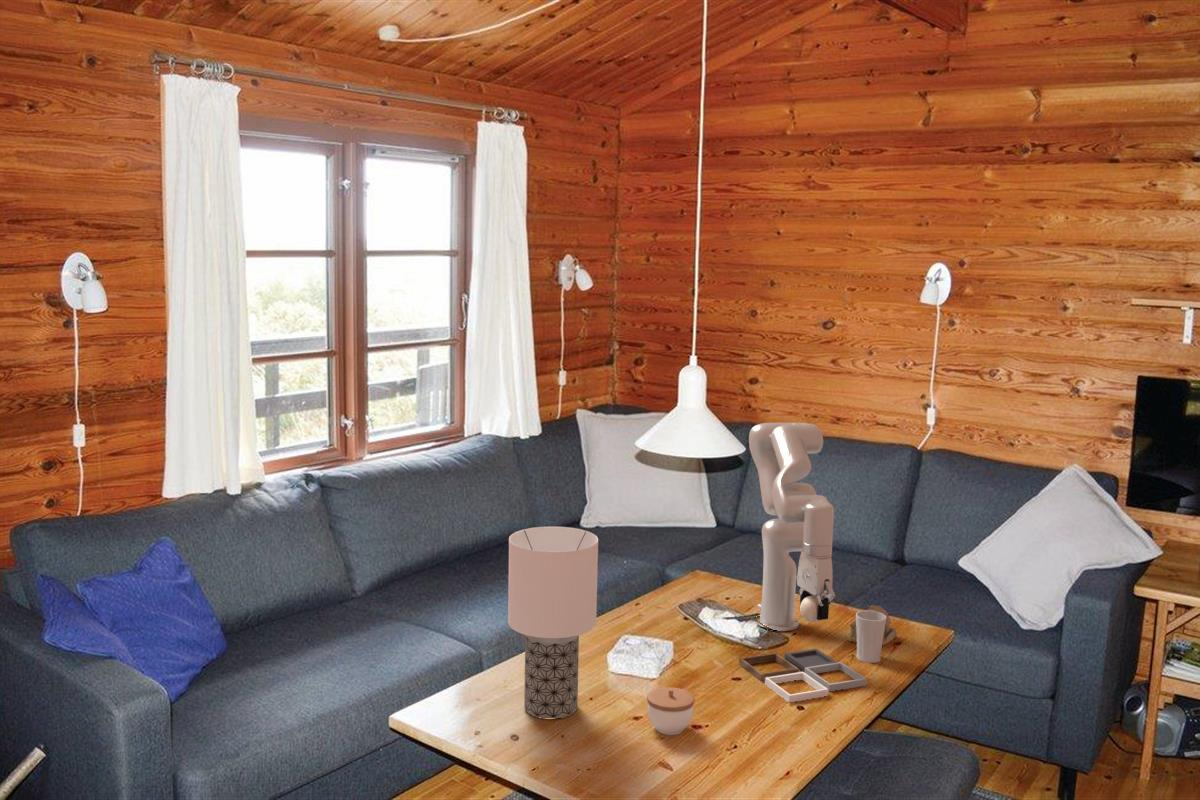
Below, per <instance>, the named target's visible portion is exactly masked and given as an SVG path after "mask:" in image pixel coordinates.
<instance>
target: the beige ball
mask: <svg viewBox="0 0 1200 800" xmlns="http://www.w3.org/2000/svg"><path fill="white" fill-rule="evenodd" d="M817 605H819V601H818V597H817V596H815V595H812V596H808V597H806V598H804V599H803V601H802V602H801V605H800V604H799V613H800V614H801V616H802V618H803V619H804V620H806V621H808V622H811V623H816V622H817V623H818V622H820V621H821V620H817Z"/></svg>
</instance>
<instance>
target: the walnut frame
mask: <svg viewBox="0 0 1200 800" xmlns="http://www.w3.org/2000/svg"><path fill="white" fill-rule="evenodd" d="M784 658H785V657H783V656H781V655H780V654H779V653H777V652H773V653H766V654H759V655H753V656H747V657H746V656H745V657H740V658H739V659H738V661H739V662H738V666H739V667H741V668H742V669H744V670H745V671H746V672H748V673H749V674H750V675H752V676H753V677H754V678H756V679H757V680H759V681H760V682H761V681H762V682H765V678H766V677H773V676H779V675H785V674H792V673H798V672H800V669H798V668H797V667H796V666H794V665H793V664H791V663H790V662H788V661H787V660H785V659H784ZM773 661H774V662H777V663H778V664H779V665H781V666H782V667H783V666H784V667H783V668H785V669H784V670H777V671H771V672H764V673H762V672H761V671H760V670H758V669H756V668H755V666H753V665H754V664H760V663H766V662H773ZM786 668H787V669H786Z"/></svg>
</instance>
